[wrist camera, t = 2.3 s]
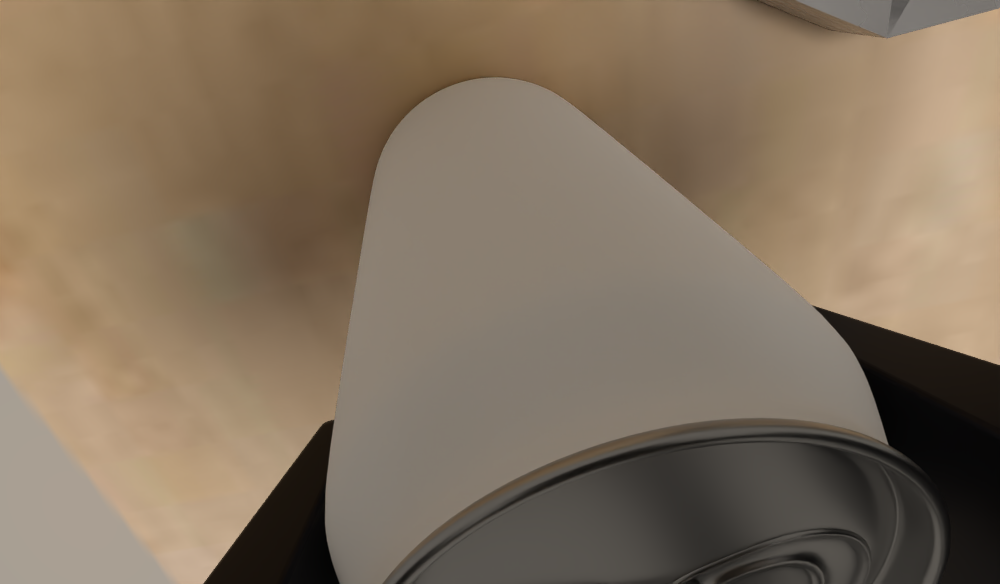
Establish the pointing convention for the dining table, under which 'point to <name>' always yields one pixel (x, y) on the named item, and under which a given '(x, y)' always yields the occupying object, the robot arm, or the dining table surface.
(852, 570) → the can
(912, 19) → the shaft seat
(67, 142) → the dining table surface
